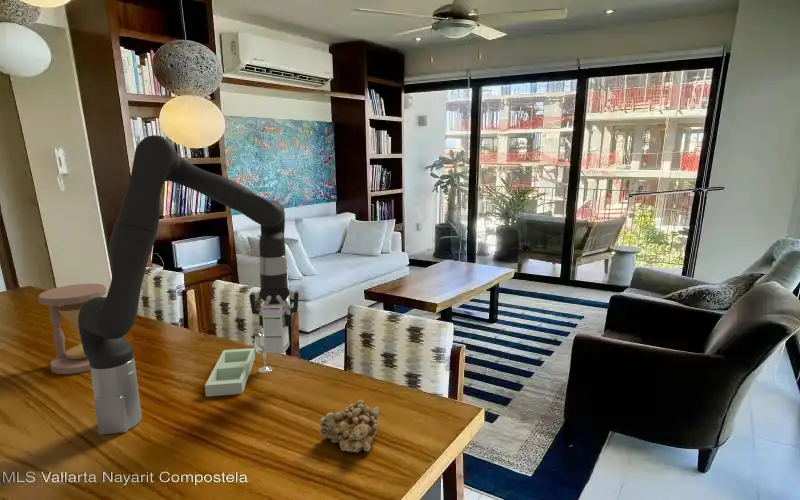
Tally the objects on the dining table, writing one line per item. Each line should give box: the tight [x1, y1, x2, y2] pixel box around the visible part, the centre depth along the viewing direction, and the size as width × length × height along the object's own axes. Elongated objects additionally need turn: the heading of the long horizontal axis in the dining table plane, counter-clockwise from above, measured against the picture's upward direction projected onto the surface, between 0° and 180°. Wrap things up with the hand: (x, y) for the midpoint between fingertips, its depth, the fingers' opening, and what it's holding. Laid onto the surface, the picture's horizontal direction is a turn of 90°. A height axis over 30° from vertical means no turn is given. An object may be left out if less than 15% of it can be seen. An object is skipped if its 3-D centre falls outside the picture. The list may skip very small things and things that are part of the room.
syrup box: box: [261, 302, 290, 354], centre depth 126 cm, size 6×6×14 cm
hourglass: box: [37, 283, 107, 375], centre depth 142 cm, size 18×18×25 cm
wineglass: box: [253, 331, 274, 374], centre depth 138 cm, size 6×6×12 cm
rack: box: [204, 347, 256, 397], centre depth 135 cm, size 24×10×4 cm, turn 10°
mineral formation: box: [318, 399, 380, 453], centre depth 104 cm, size 8×13×15 cm
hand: (276, 326), depth 126 cm, fingers closed on syrup box, 6 cm apart
